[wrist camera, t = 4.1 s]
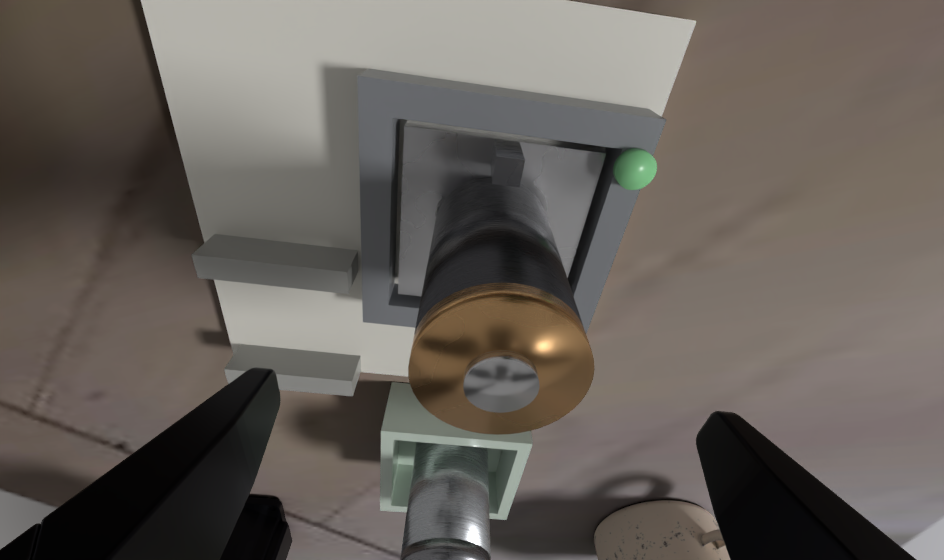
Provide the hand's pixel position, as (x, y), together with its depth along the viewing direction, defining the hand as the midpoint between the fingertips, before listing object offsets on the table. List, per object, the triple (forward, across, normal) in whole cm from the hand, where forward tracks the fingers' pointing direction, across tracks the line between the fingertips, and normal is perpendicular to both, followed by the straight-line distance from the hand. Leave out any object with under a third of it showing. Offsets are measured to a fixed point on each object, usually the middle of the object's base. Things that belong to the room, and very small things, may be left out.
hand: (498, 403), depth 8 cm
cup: (+10, 0, +14) cm, 17 cm away
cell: (+8, 0, 0) cm, 8 cm away
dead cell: (+9, 0, +14) cm, 17 cm away
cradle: (+8, 0, 0) cm, 8 cm away
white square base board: (+9, +3, +1) cm, 10 cm away
